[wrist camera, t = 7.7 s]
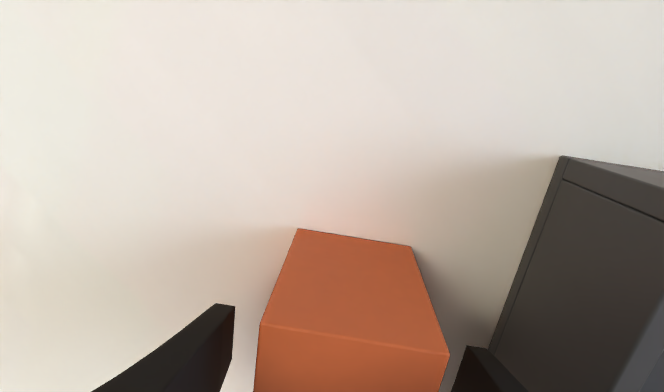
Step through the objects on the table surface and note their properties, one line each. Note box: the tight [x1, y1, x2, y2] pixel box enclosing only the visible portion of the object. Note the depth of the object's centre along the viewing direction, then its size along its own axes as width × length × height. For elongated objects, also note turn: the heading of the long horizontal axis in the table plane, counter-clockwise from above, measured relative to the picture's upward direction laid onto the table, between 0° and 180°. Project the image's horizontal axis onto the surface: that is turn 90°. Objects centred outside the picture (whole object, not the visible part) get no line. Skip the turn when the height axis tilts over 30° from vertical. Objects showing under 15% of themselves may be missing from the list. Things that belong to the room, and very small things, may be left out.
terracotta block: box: [253, 229, 450, 392], centre depth 11 cm, size 4×4×5 cm
